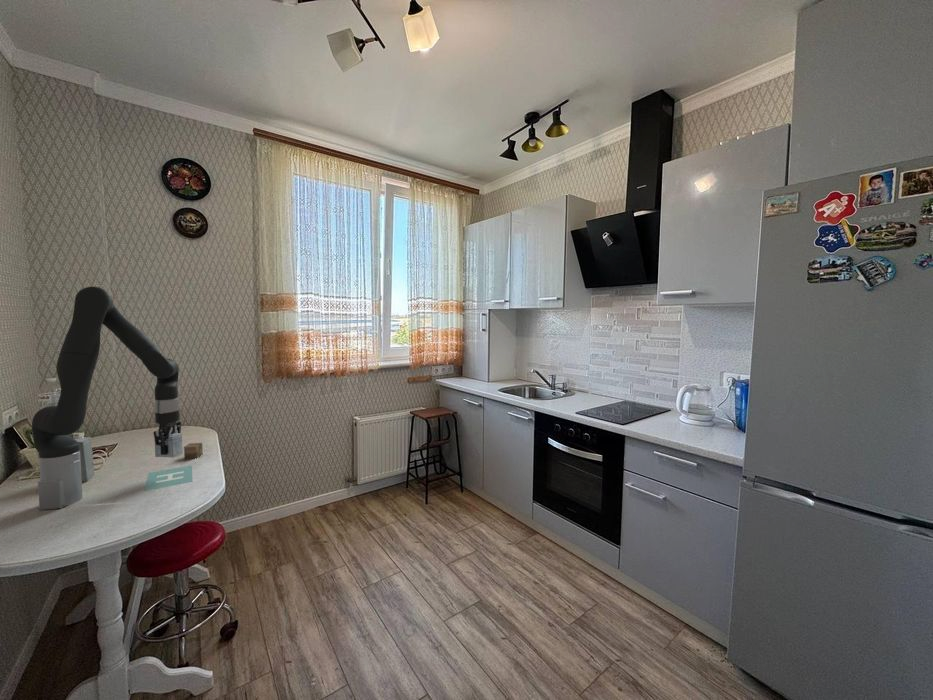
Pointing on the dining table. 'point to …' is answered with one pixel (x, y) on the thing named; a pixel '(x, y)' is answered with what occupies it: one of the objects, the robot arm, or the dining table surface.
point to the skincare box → (86, 458)
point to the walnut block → (193, 451)
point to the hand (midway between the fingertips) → (169, 451)
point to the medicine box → (171, 446)
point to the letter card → (169, 477)
